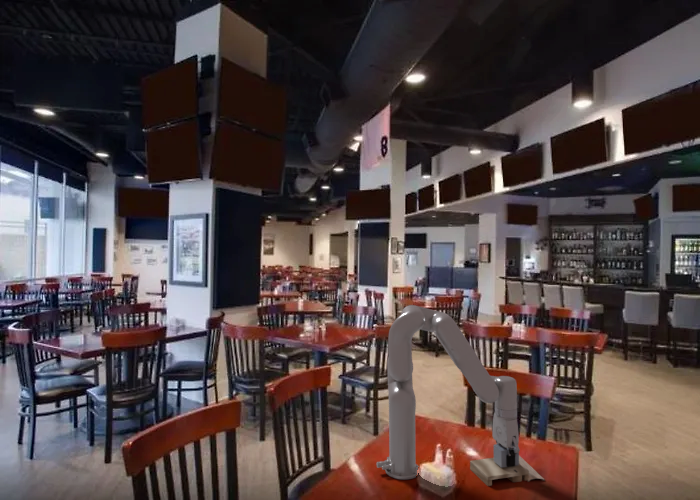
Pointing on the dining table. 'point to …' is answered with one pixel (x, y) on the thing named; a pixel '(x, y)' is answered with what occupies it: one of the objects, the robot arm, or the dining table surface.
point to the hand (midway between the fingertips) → (506, 461)
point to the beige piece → (530, 470)
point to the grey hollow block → (503, 455)
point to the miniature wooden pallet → (497, 471)
